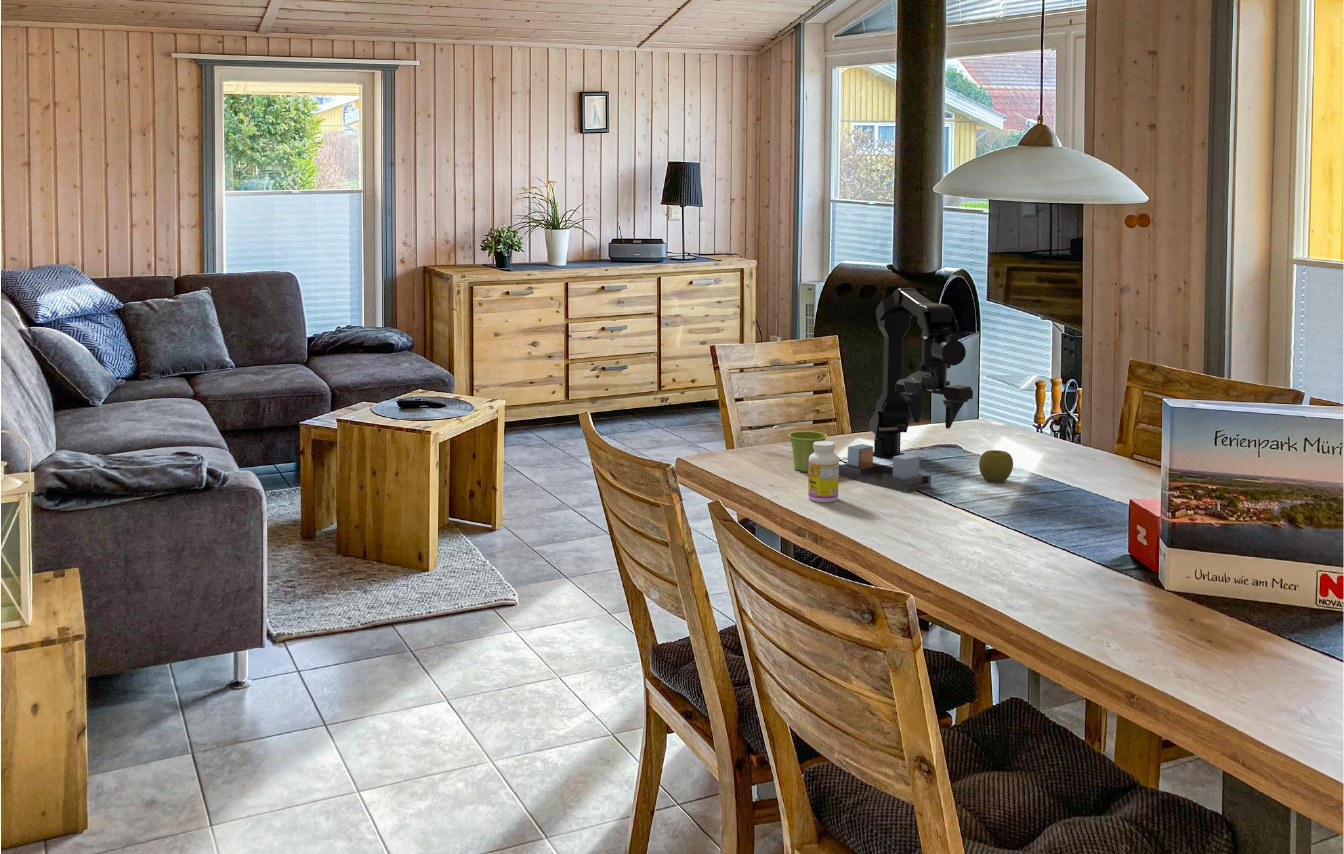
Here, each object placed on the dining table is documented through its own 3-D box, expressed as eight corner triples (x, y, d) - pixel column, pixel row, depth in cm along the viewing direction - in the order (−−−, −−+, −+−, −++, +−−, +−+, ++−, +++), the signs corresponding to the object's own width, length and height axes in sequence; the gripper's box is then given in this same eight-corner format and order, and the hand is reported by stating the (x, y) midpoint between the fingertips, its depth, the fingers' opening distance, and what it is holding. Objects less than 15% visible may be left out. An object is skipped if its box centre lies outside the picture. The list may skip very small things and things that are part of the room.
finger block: (905, 478, 279) (906, 453, 278) (918, 481, 276) (919, 456, 275) (891, 481, 276) (891, 456, 275) (904, 484, 273) (905, 459, 272)
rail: (859, 470, 293) (860, 441, 292) (930, 487, 276) (931, 456, 275) (836, 475, 288) (837, 445, 287) (907, 492, 271) (908, 461, 270)
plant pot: (826, 465, 299) (826, 431, 297) (827, 474, 289) (827, 439, 288) (788, 464, 299) (788, 430, 298) (788, 473, 290) (788, 438, 289)
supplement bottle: (805, 496, 269) (806, 440, 266) (834, 495, 269) (835, 439, 267) (811, 503, 262) (812, 446, 260) (841, 502, 263) (842, 445, 260)
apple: (994, 486, 276) (995, 456, 275) (970, 479, 283) (972, 450, 282) (1019, 483, 280) (1020, 453, 278) (995, 476, 286) (996, 446, 285)
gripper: (880, 358, 280) (878, 423, 283) (944, 367, 266) (941, 436, 269) (912, 354, 287) (910, 418, 290) (975, 362, 273) (972, 429, 276)
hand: (932, 425), depth 281 cm, fingers open, 9 cm apart
